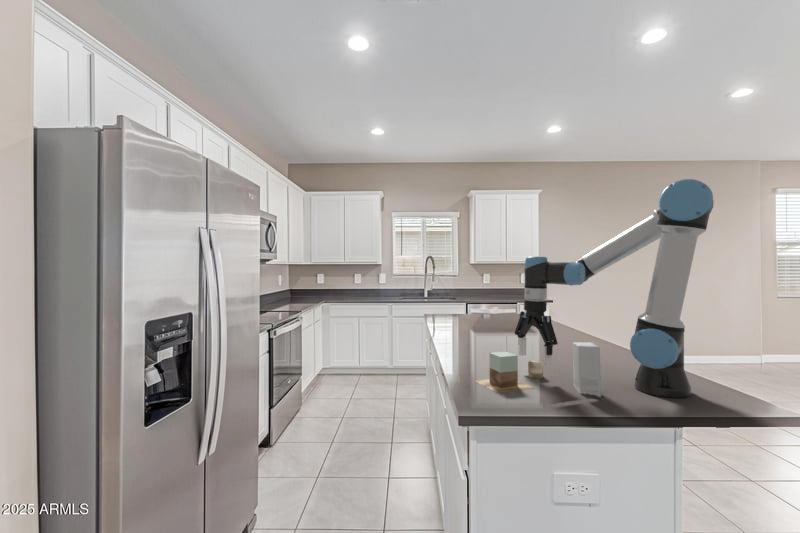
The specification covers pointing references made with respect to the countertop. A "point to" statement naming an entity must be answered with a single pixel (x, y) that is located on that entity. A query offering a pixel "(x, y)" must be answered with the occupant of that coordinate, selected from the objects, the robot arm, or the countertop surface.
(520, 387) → the light wood square board
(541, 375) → the oak cylinder
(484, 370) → the countertop surface
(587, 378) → the skincare box
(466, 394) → the countertop surface
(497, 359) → the sage mid block
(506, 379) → the walnut base block
